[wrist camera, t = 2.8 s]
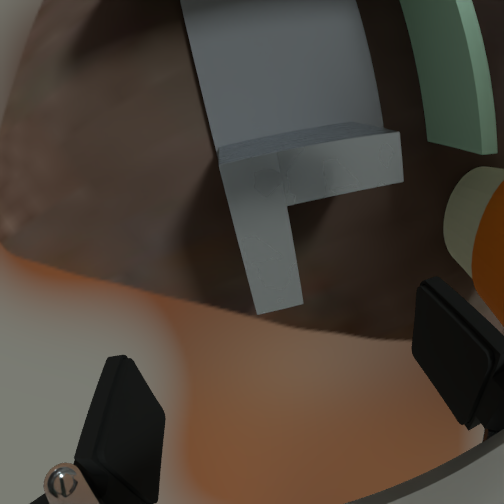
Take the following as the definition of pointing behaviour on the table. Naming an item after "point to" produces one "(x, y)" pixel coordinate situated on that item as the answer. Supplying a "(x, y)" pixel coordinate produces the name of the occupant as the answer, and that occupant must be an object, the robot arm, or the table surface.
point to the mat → (280, 66)
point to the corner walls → (452, 74)
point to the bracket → (297, 193)
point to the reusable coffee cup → (479, 232)
